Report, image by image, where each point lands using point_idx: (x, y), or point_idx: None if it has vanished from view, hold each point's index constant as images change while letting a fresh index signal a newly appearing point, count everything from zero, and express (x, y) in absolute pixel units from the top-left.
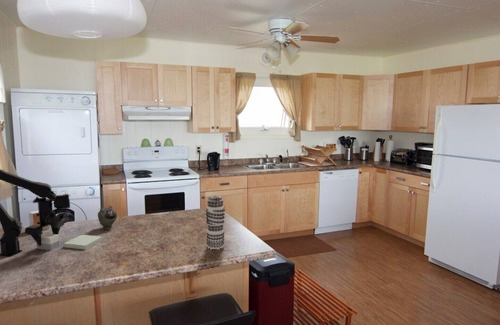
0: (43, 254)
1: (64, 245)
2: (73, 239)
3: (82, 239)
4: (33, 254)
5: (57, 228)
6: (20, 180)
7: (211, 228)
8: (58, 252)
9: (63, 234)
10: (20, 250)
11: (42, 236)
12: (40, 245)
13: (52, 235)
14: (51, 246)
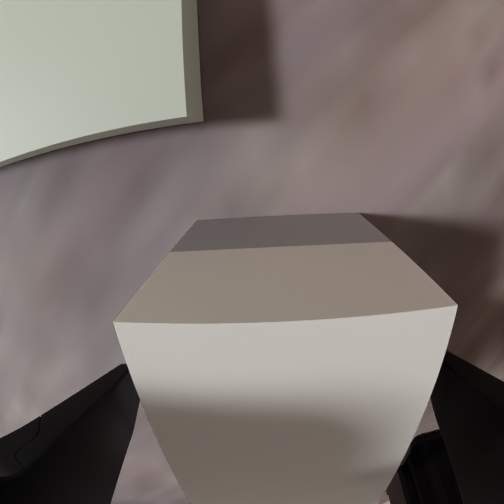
0: (481, 199)
1: (197, 106)
2: (19, 127)
3: (3, 21)
4: (483, 305)
5: (24, 486)
6: None
7: None
8: (390, 50)
9: (16, 403)
10: (415, 448)
11: (350, 493)
12: (446, 352)
13: (246, 417)
14: (366, 228)
